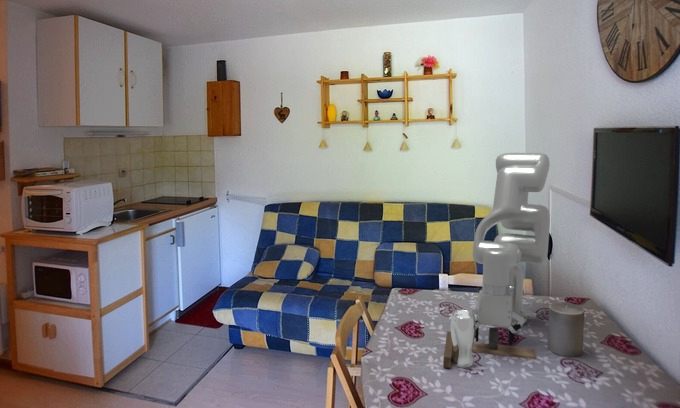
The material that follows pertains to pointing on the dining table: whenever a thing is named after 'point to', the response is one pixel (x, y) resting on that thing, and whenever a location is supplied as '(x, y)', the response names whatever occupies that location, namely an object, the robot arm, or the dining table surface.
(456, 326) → the beer glass
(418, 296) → the dining table surface
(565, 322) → the pillar candle
